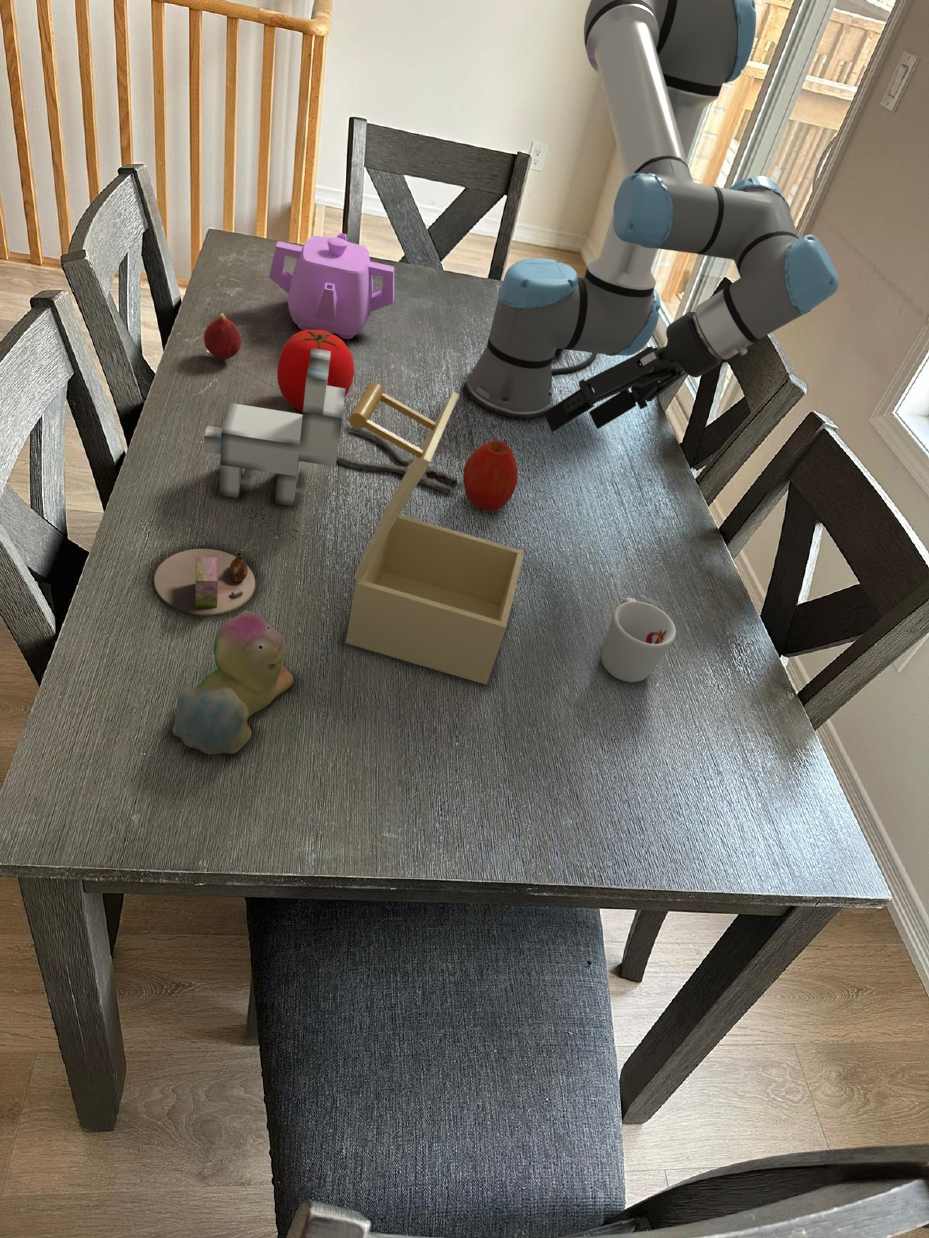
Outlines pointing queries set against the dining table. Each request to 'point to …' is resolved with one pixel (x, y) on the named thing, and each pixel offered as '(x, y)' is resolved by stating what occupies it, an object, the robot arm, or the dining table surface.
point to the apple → (490, 476)
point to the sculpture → (233, 686)
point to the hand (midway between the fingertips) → (571, 421)
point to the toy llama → (280, 435)
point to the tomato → (297, 363)
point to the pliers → (400, 469)
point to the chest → (436, 599)
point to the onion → (222, 338)
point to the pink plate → (204, 582)
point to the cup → (636, 640)
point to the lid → (422, 454)
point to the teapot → (331, 284)
